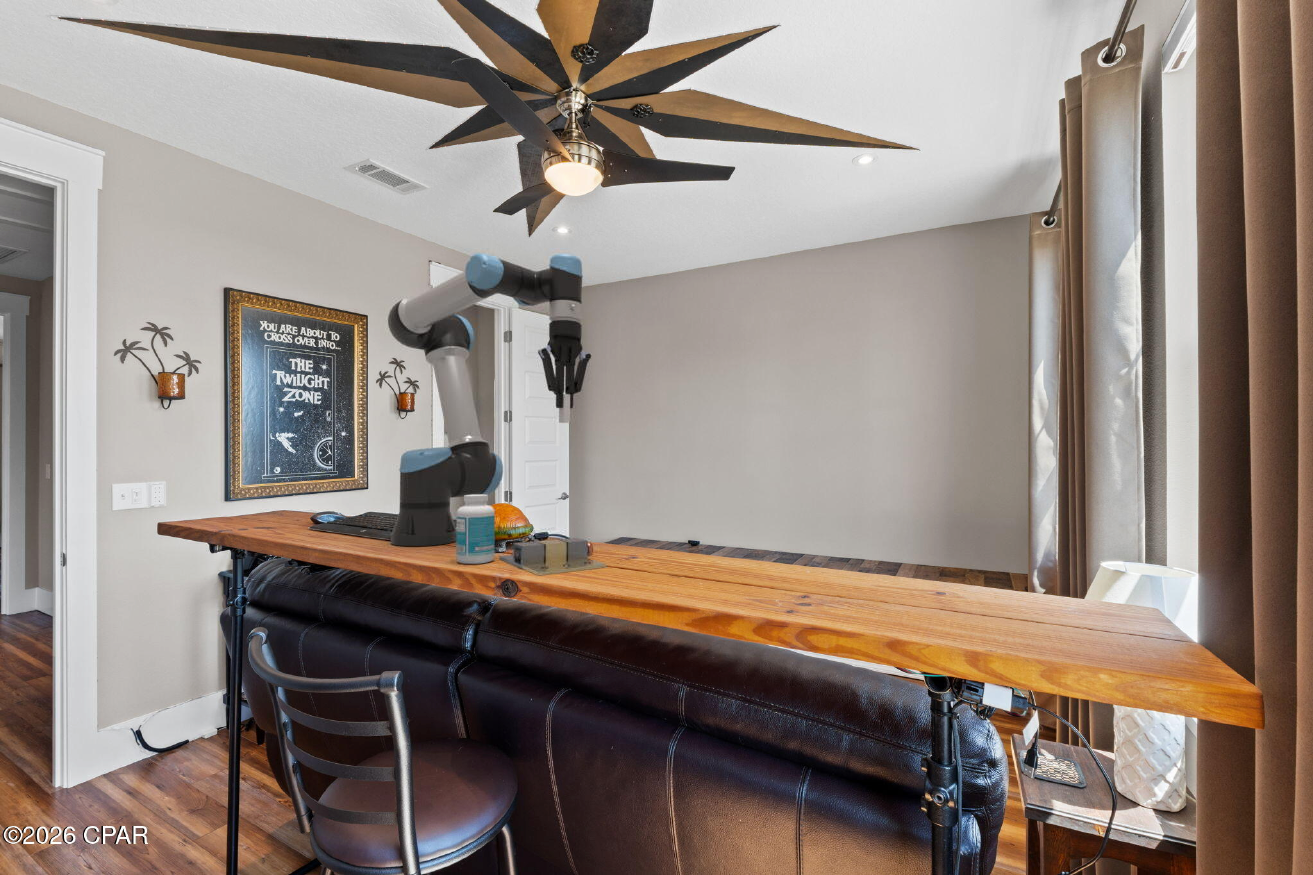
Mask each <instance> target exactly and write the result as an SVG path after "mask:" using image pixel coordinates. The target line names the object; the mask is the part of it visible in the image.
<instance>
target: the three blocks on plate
mask: <svg viewBox="0 0 1313 875" xmlns="http://www.w3.org/2000/svg"><path fill="white" fill-rule="evenodd" d="M588 542H589V541H588V540H585V539H582V538H579V537H571V538H561V539H559V538H558V539H547V540H538V541H537V540H536V541H526V542H525V541H524V542H513V544H512V546H513V548H512V554H509V555H508V554H507V555H499V558H498V559H499V561H500V560H501V561H503V562H505V563H508V564H510V565H513V566H515V567H517V568H520V569H523V570H524V571H527V572H530V573H533V574H535V575H536V576H545V575H554V574H563V573H568V572H569V573H570V572H571V573H572V572H579V571H587V570H594V569H595V570H596V569H602V568H607V563H605V562H600V561H597V560H594V559H591V558H588ZM520 551H521V560H520Z"/></svg>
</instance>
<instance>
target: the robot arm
mask: <svg viewBox="0 0 1313 875" xmlns="http://www.w3.org/2000/svg"><path fill="white" fill-rule="evenodd" d="M582 265H583V263H582V261H581V259H580V258H579V257H577V256H576V255H573V254H569V253H557V254H554V255H552V257H551V258H550V259H549V264H548V267H549V268H546V269H542V270H537V271H536V270H532V269H529V268H526V267H523V266H521V265H518V264H514V263H512V262H510V261H507V260H504V259H501V258H498V257H497V256H494V255H490V254H485V253H482V252H478V253H474V254H473V255H471V256H470V259H469V260H467V262H466V265H465V270H464V271H463V272H460V273H458V274H456V275H455V276H453V277H451V278H449V279H447V280H446V281H444V282H442V283H440V284H437V285H436V286H434V287H433V288H431V289H428V290H426V291H425V292H423V293H421V294H419V295H418V296H406V297H405V298H402V299H401V300H399V301H398V302H396V303H395V304H394V305H393V306H392V308H391V309H390V310H389V312H388V316H387V324H388V329H389V331H390V334H391V335H392V337H393V338H394V339H395V340H396V341H397V342H398V343H400V344H401V345H402V346H406V347H408V348H411V349H417V350H422V351H423V353H424V356H425V360H426V363H428V364H430V365H432V366H433V372H434V376H435V382H436V387H437V390H438V397H439V402H440V407H441V411H442V412H441V413H442V416H443V420H444V427H445V432H446V436H447V442H448V445H447V446H440V447H431V448H429V447H427V448H419V449H418V448H417V449H412V450H406V451H405V452H403V453H402V454H401V457H400V464H399V465H400V466H399V469H398V470H399V511H398V514H397V518H396V521H395V523H394V526H393V529H392V532H391V534H390V544H391V545H394V546H400V547H401V546H402V547H422V546H423V547H425V546H439V545H446V544H451V543H454V542H456V540H457V527H456V525H455V522H454V518H453V515H452V513H451V508H450V507H451V498H464V495H478V494H483V495H488V496H489V495H490V494H492V493H494V492H495V491H496V490H497V489H498V488H499V486H500V484H501V481H502V478H503V474H504V464H503V461H502V459H501V457H500V456H498V454H497V453H495V452H491V449H490V445H489V441H486V440H485V439H483V438H482V435H481V429H480V425H479V421H478V417H477V410H476V408H475V407H476V406H475V403H474V398H473V393H472V387H471V384H470V379H469V374H468V370H467V365H466V360H467V359H468V358H469V357H470V356H469V355H470V352H471V351H472V349H473V346H474V343H473V342H474V341H475V335H474V328H473V326H472V325H471V324H470V322H469V321H468V319H466V318H465V317H463V315H462V316H461V315H458V313H459V312H461V311H463V310H466V309H467V308H470V307H471V306H473V305H475V304H478V303H479V302H481V301H484V300H485V299H488V298H489V297H492V296H494V295H497V294H499V295H502V296H506V297H510V298H512V299H513V300H514V301H515V302H516V303H517V304H518V305H520V306H522V307H528V306H529V307H534V306H537V305H540V304H545V303H549V314H548V316H549V318H548V319H549V321H550V322H549V324H548V325H549V327H548V337H549V340H548V342H547V346H545V347H543V348H540V349H538V350H537V354H538V355H539V357H540V359H541V361H542V366H543V371H544V376H545V381H546V386H547V389H548V391H549V392H551V393H552V392H553V394H554V395H555V407H556V408H557V409H558V423H560V424H561V423H562V424H568V423H571V409H573V408H574V396H575V394H577V393H580V392H581V391H582V388H583V385H584V379H585V374H586V371H587V367H588V366H587V365H588V363H589V361H590V359H592V354H591V353H587V352H586V351H585V350H583V348H584V347H583V345H582V342H581V341H582V327H583V326H582V324H581V322H582V315H583V314H582V311H583V310H582V308H583V305H582V304H583V303H582V298H583V297H582V294H583V293H582V292H583V291H582V290H583V266H582ZM456 313H457V314H456ZM551 355H552V356H553V358H554V366H555V367H554V366H553V361H552V357H551ZM577 359H578V360H579V361H578V362H576V360H577ZM576 363H577V367H576V372H575V366H576ZM554 368H555V369H554Z"/></svg>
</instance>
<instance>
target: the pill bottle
mask: <svg viewBox="0 0 1313 875" xmlns="http://www.w3.org/2000/svg"><path fill="white" fill-rule="evenodd" d="M488 500H489V494H488V495H483V494H478V495H464V497H463V501H464V503H465V504H463V505H462V506H461V507H459V508H458V509H457V511H456V531H457V540H456V541H455V542H456V548H455V549H456V551H455V552H456V561H457V562H458V563H459V564H463V565H477V564H480V565H481V564H485V563H489V562H490V563H491V562H492V561H494V559H495V549H496V548H495V544H496V543H495V540H496V539H495V535H496V534H495V528H496V527H495V525H496V524H495V523H496V522H495V519H496V517H495V515H496V512H495V509H494V507H492V506H491V505H488V504H487V503H488Z"/></svg>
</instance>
